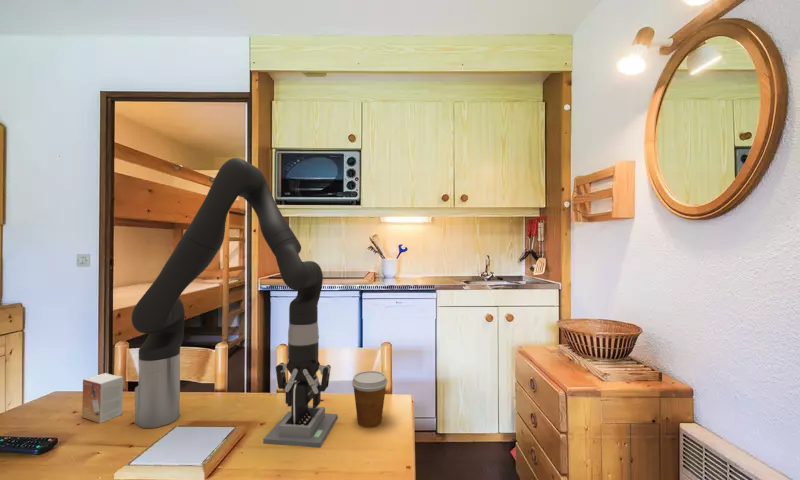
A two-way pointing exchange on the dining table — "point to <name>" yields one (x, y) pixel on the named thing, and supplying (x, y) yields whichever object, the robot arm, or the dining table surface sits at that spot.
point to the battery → (301, 402)
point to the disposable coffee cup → (369, 397)
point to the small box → (102, 397)
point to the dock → (302, 429)
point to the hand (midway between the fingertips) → (303, 405)
